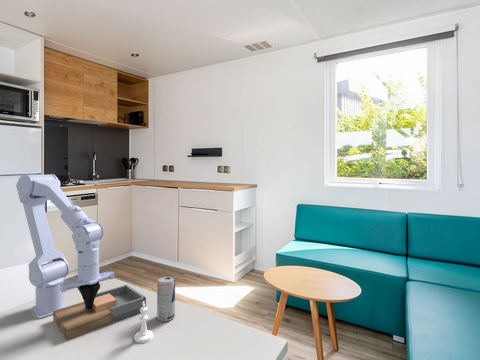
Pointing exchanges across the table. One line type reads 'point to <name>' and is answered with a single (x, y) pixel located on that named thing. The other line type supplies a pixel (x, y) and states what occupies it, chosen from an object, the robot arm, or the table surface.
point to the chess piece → (143, 327)
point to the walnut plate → (80, 320)
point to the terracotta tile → (104, 302)
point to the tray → (124, 302)
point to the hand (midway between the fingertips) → (88, 308)
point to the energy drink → (166, 298)
